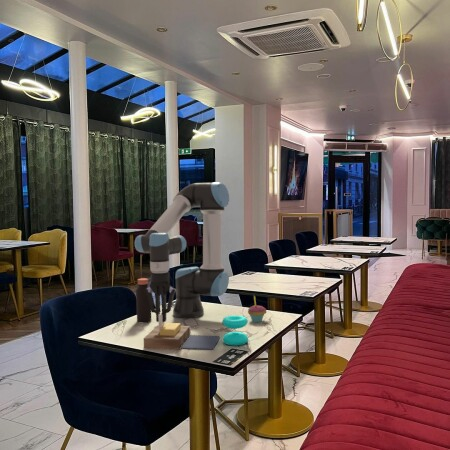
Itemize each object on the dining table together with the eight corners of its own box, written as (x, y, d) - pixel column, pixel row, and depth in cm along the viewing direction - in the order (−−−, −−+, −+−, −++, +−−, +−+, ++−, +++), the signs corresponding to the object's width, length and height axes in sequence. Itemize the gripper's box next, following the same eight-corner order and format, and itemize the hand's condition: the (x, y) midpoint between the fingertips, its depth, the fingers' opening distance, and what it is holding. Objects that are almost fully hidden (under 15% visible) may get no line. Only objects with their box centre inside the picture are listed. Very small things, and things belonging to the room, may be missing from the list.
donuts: (242, 322, 176) (218, 319, 180) (243, 347, 177) (219, 345, 180) (250, 315, 185) (227, 313, 189) (251, 339, 186) (228, 337, 190)
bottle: (153, 319, 220) (152, 278, 219) (147, 323, 213) (146, 280, 212) (140, 318, 222) (139, 277, 221) (134, 322, 215) (132, 280, 214)
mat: (190, 336, 193) (190, 335, 192) (220, 337, 191) (220, 335, 190) (181, 348, 177) (180, 347, 177) (213, 349, 175) (212, 348, 175)
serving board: (157, 334, 196) (157, 325, 196) (190, 335, 194) (189, 326, 193) (143, 348, 178) (143, 338, 178) (179, 349, 176) (178, 339, 176)
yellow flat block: (166, 328, 190) (166, 322, 190) (180, 329, 189) (180, 323, 189) (159, 335, 181) (159, 329, 181) (174, 335, 180) (174, 329, 180)
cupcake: (244, 320, 215) (243, 295, 214) (258, 317, 220) (257, 292, 219) (256, 324, 208) (255, 298, 207) (270, 320, 213) (269, 295, 212)
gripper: (141, 273, 182) (143, 331, 183) (172, 273, 180) (174, 332, 181) (147, 269, 189) (149, 326, 191) (178, 270, 187) (179, 327, 188)
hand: (161, 329), depth 186 cm, fingers closed
